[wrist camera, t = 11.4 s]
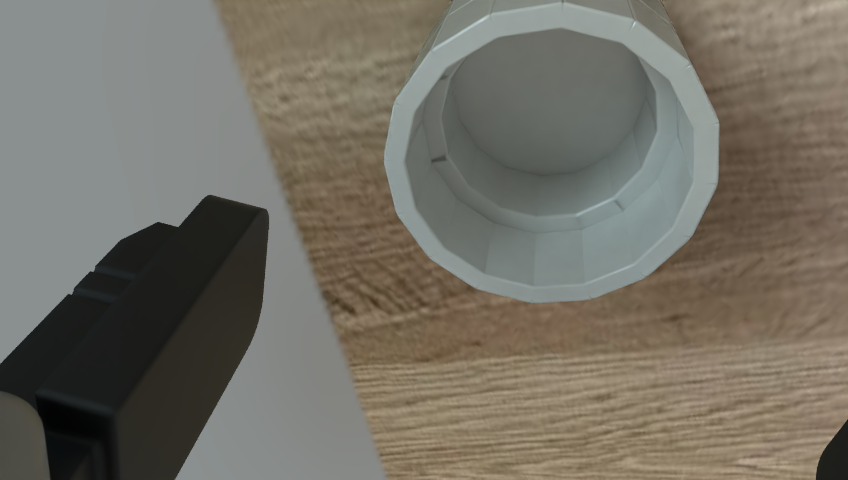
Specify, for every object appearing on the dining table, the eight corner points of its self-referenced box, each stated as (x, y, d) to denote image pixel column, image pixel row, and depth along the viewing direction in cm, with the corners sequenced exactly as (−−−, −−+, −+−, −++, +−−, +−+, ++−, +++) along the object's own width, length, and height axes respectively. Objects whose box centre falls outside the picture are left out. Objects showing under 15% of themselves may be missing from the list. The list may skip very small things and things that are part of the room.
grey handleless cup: (404, 161, 20) (363, 261, 15) (453, -80, 16) (418, -34, 12) (625, 216, 19) (645, 333, 15) (724, -14, 16) (783, 55, 12)
